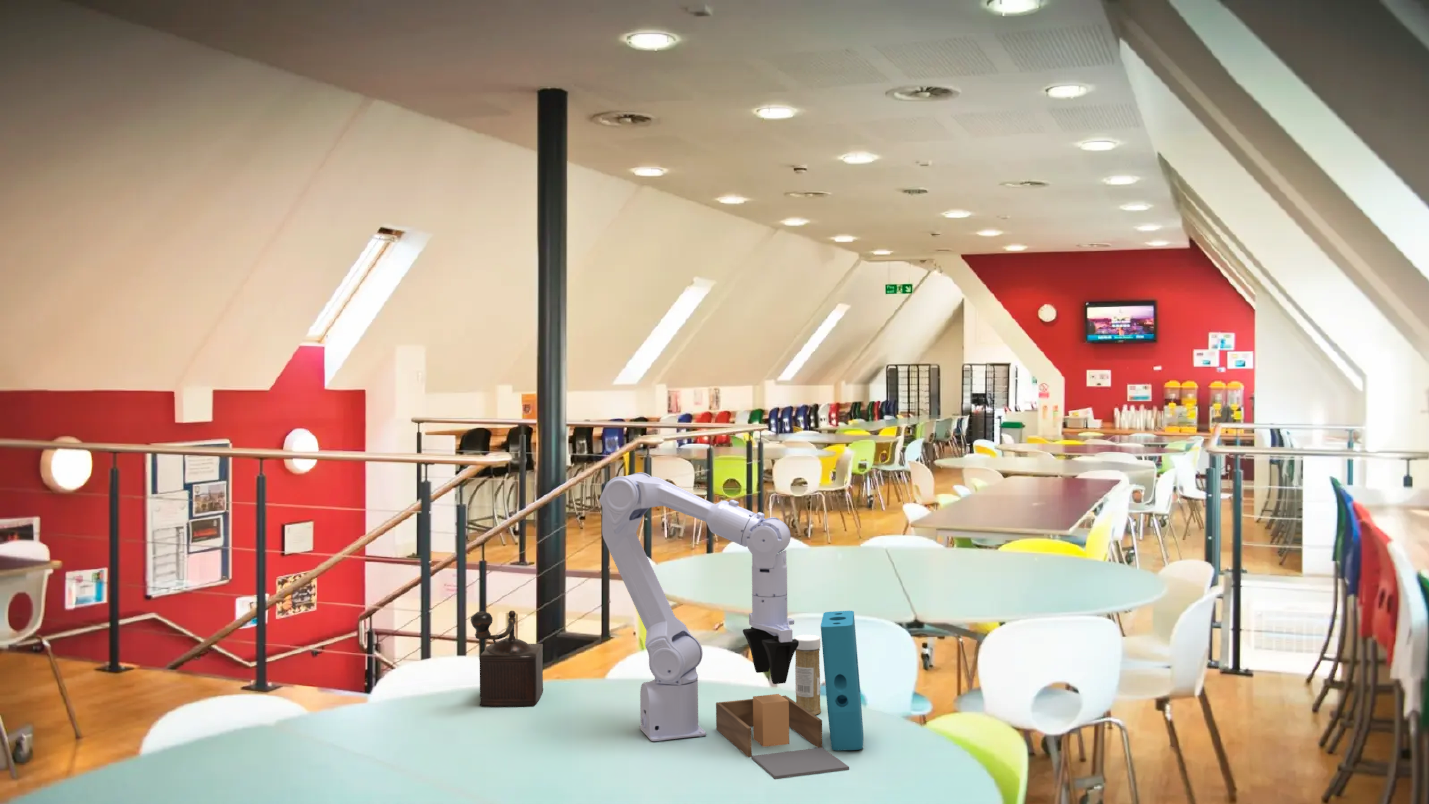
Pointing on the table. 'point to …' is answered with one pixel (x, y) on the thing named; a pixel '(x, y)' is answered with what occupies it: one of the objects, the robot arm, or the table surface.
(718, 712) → the walnut box
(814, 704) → the sprinkles bottle
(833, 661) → the block
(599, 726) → the table surface
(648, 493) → the robot arm
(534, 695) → the manual coffee grinder
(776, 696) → the orange block
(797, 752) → the charcoal mat
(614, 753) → the table surface
